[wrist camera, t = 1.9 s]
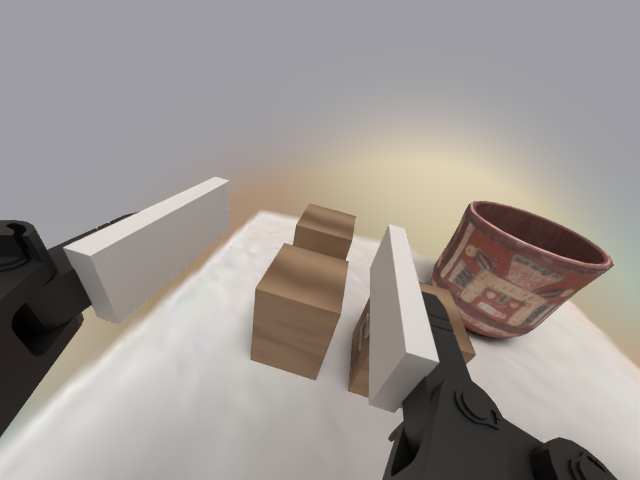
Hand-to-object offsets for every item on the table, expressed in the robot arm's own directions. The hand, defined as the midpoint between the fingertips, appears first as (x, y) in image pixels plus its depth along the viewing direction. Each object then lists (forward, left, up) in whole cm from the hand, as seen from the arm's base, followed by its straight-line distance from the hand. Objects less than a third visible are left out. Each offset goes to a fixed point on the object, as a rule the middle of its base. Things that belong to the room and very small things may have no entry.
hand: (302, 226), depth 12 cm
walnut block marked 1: (-12, -17, -22) cm, 31 cm away
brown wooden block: (-5, -7, -22) cm, 24 cm away
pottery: (-38, -4, -22) cm, 44 cm away
